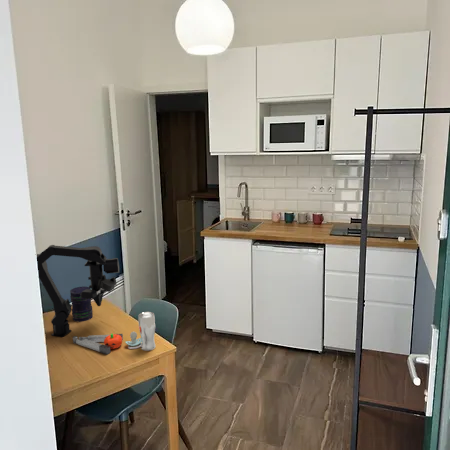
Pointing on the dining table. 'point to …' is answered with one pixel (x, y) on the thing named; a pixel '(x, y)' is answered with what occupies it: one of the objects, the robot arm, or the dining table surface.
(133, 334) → the pacifier
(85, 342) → the tong base
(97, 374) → the dining table surface
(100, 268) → the robot arm
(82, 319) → the storage jar
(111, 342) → the pumpkin
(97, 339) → the tong leg
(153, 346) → the silver drink can
